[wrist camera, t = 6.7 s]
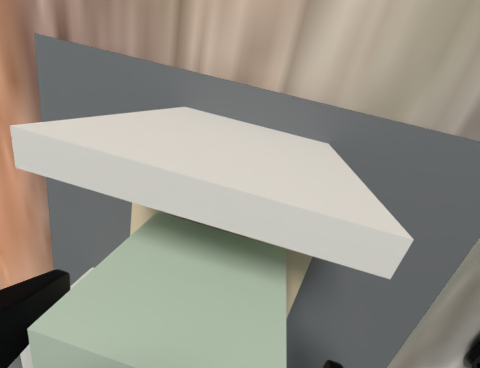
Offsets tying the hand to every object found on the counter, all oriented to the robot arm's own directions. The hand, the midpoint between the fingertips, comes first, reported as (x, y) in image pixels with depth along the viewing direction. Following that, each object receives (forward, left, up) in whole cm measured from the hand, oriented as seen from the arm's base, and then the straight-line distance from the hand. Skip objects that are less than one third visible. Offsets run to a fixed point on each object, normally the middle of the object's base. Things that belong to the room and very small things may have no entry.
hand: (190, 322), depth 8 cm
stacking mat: (0, +2, -7) cm, 7 cm away
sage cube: (0, 0, -2) cm, 2 cm away
